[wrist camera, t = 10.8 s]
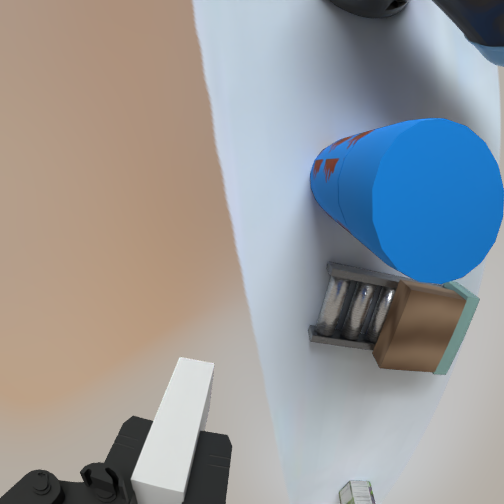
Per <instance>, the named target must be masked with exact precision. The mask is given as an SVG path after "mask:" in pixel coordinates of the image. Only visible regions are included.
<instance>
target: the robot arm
mask: <svg viewBox="0 0 504 504" xmlns="http://www.w3.org/2000/svg"><path fill="white" fill-rule="evenodd" d="M330 1H331V2H332V3H334V4H335V5H337V6H338V7H340V8H342V9H344V10H346V11H348V12H350V13H353V14H356V15H359V16H363V17H369V18H384V17H389V16H392V15H394V14H396V13H398V12H399V11H400V10H401V9H402V8H403V7H404V6H405V5H406V4H407V3H408V2H409V0H330ZM432 1H433V2H434V3H435V4H436V5H437V6H438V7H439V8H440V9H441V10H442V11H443V12H444V13H445V14H446V15H447V16H448V17H449V18H450V19H451V20H452V21H453V22H454V23H455V24H456V26H457V27H458V28H459V29H460V30H461V31H462V32H463V33H464V36H465V38H466V39H467V40H468V41H469V42H470V43H471V44H473V45H474V46H475V47H476V48H477V49H478V50H479V51H480V53H481V54H482V55H483V56H484V57H485V58H486V59H487V60H488V61H490V62H491V63H493V64H495V65H498V66H503V67H504V0H432ZM214 364H215V363H210V362H204V361H199V360H194V359H189V358H183V357H180V358H179V360H178V363H177V365H176V368H175V370H174V372H173V374H172V377H171V379H170V382H169V384H168V387H167V389H166V392H165V394H164V396H163V399H162V401H161V404H160V406H159V409H158V411H157V414H156V416H155V419H154V421H151V420H147V419H143V418H139V417H136V416H132V417H131V418H130V419H128V420H127V421H126V422H124V423H123V425H122V427H121V429H120V431H119V434H118V436H117V437H116V439H115V442H114V444H113V445H112V448H111V450H110V452H109V454H108V456H107V458H106V460H105V462H104V463H100V462H98V463H91V464H89V465H87V466H85V467H84V468H83V469H82V470H81V471H80V474H81V476H82V478H83V481H84V482H68V481H60V480H58V479H57V478H56V477H55V476H54V475H53V474H52V473H50V472H48V471H45V470H34V471H31V472H29V473H28V474H26V475H25V476H24V477H23V478H22V479H21V480H20V481H19V482H17V483H16V484H15V485H14V486H13V487H12V488H11V489H10V490H9V491H8V492H6V493H5V494H4V495H3V496H2V497H1V498H0V504H226V493H227V485H228V477H229V468H230V459H231V452H232V445H231V442H230V440H229V437H228V436H227V435H224V434H218V433H212V432H206V431H205V426H206V422H207V417H208V412H209V407H210V398H211V389H212V381H213V373H214Z"/></svg>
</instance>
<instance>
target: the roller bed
mask: <svg viewBox="0 0 504 504" xmlns="http://www.w3.org/2000/svg"><path fill="white" fill-rule="evenodd" d="M326 269H327V270H328V272H329V274H330V276H331V278H330V282H329V285H328V289H327V292H326V296H325V299H324V302H323V306H322V309H321V312H320V315H319V318H318V322H317V325H316V326H312V325H310V326H309V329H308V333H309V337H310V341H311V342H317V343H324V344H331V345H338V346H345V347H352V348H360V349H368V350H374V348H375V345H376V343H377V340H378V338H379V335H380V333H381V330H382V328H383V325H384V322H385V320H386V317H387V315H388V312H389V309H390V306H391V304H392V301H393V298H394V295H395V292H396V289H397V286H398V284H399V281H400V279H402V280H407V281H412V282H416V283H421V284H426V285H431V286H435V287H440V288H445V289H447V288H446V287H444V286H442V285H437V284H433V283H424V282H418V281H416V280H414V279H409V278H404V277H400V276H395V275H390V274H385V273H381V272H376V271H371V270H366V269H361V268H357V267H352V266H347V265H342V264H337V263H333V262H328V264H327V268H326ZM351 280H354V281H358V282H357V285H356V289H355V292H354V295H353V298H352V301H351V304H350V307H349V310H348V313H347V316H346V319H345V322H344V325H343V328H342V330H337V329H335V328H336V325H337V323H338V320H339V317H340V314H341V311H342V307H343V304H344V301H345V298H346V295H347V292H348V289H349V285H350V282H351ZM377 285H380V286H382V290H381V293H380V295H379V298H378V301H377V304H376V307H375V310H374V313H373V315H372V318H371V321H370V324H369V326H368V329H367V332H366V334H363V333H360V332H361V330H362V327H363V324H364V322H365V319H366V316H367V313H368V310H369V308H370V305H371V302H372V299H373V296H374V293H375V290H376V287H377Z"/></svg>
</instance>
